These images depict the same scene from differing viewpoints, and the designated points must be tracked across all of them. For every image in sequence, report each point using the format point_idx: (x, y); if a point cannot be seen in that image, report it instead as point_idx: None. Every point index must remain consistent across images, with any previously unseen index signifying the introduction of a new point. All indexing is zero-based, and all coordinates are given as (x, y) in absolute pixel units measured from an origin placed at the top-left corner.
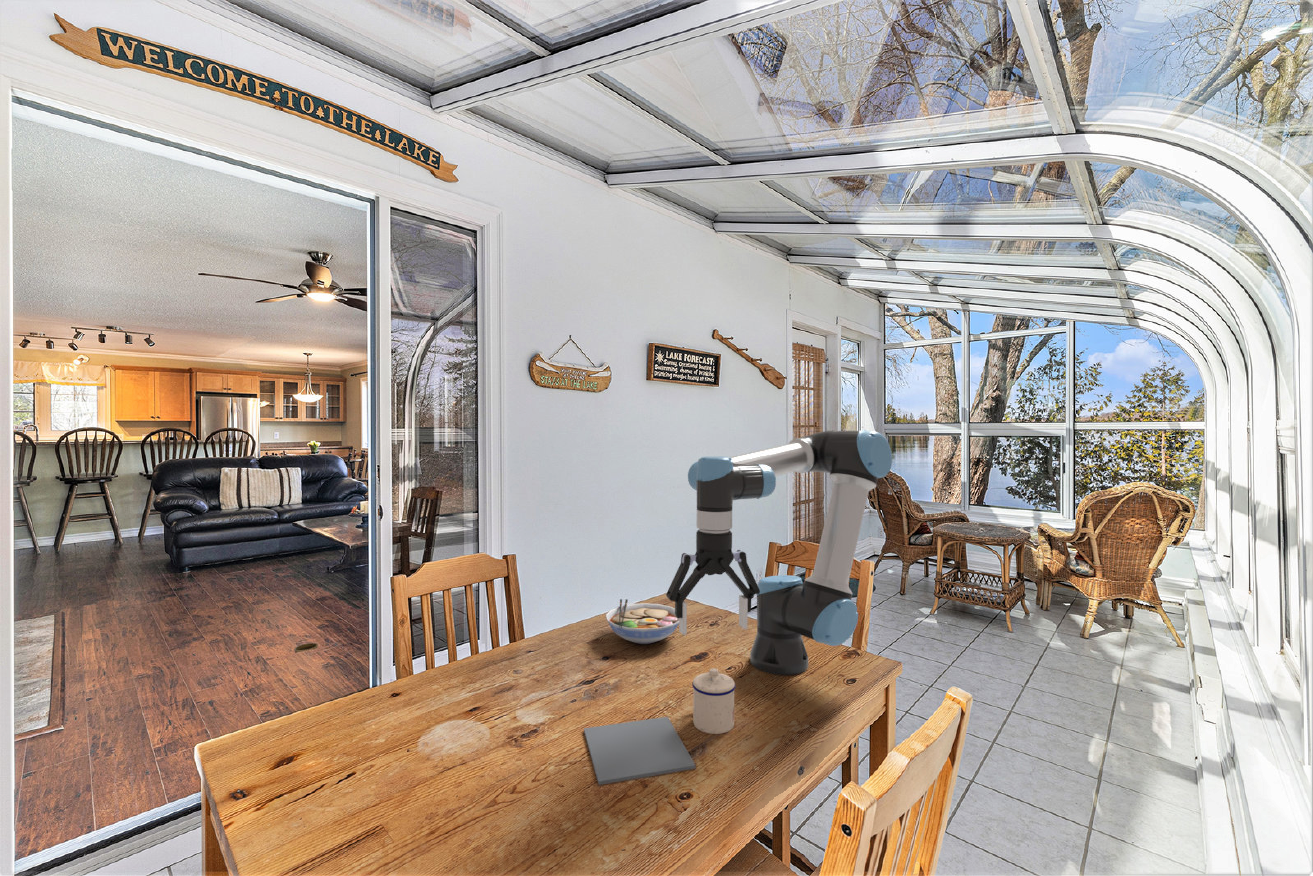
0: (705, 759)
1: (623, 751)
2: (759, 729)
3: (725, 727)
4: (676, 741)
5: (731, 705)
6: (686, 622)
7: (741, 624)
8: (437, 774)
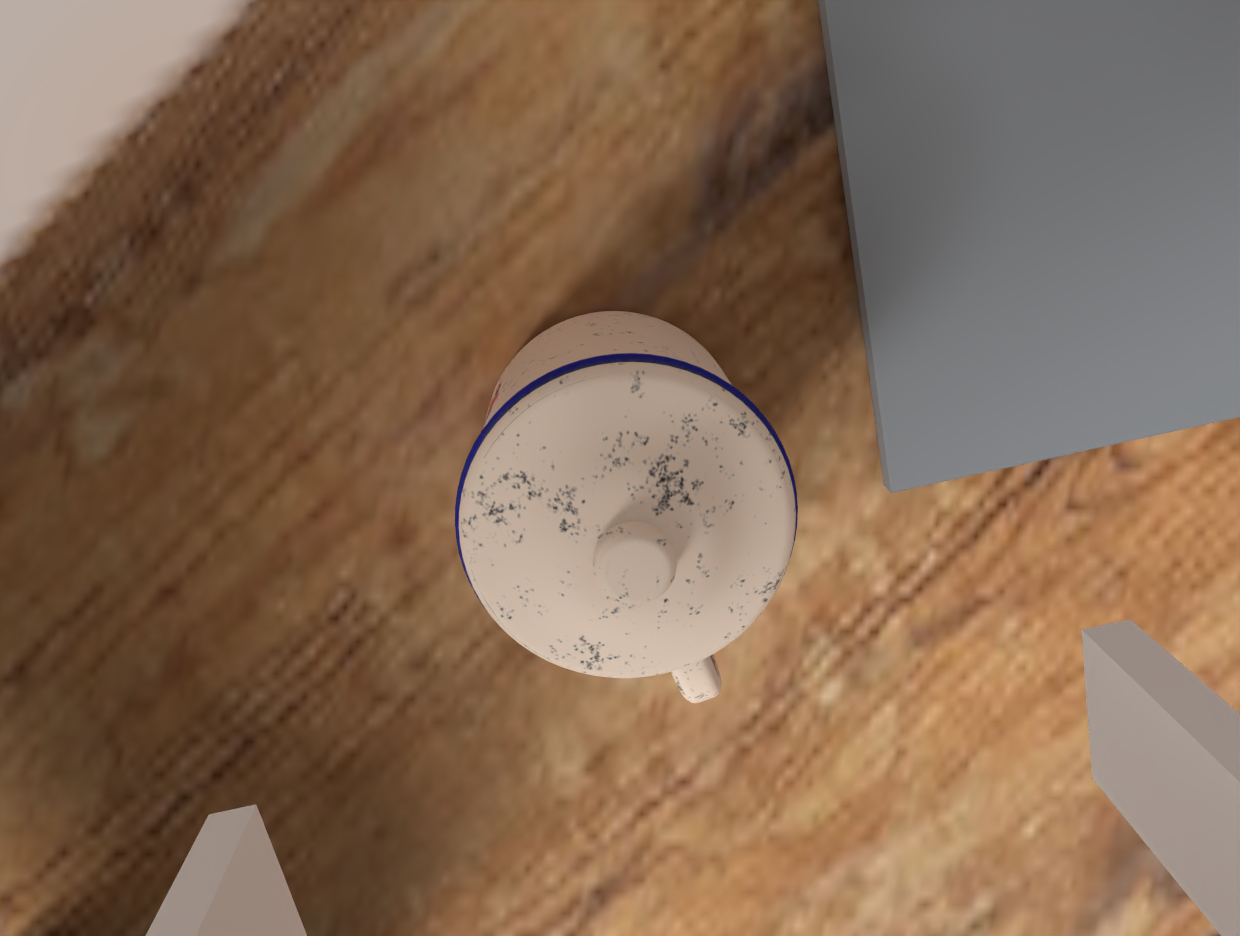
0: (728, 43)
1: (1222, 112)
2: (333, 363)
3: (557, 328)
4: (885, 207)
5: (506, 392)
6: (1183, 722)
7: (273, 902)
8: None
